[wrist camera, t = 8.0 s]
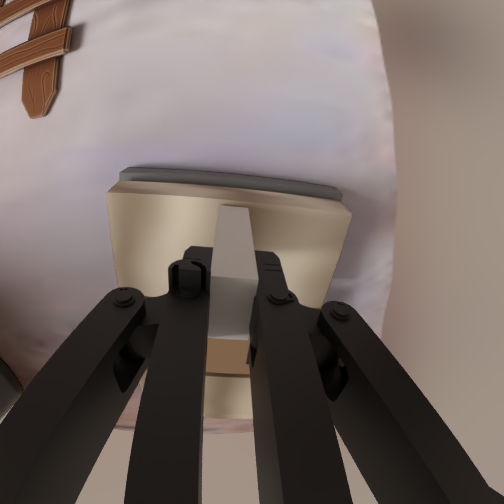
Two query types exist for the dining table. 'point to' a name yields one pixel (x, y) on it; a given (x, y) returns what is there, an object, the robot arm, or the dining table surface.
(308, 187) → the floor board
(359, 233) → the dining table surface
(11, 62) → the decorative fence
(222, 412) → the plank
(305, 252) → the plank
